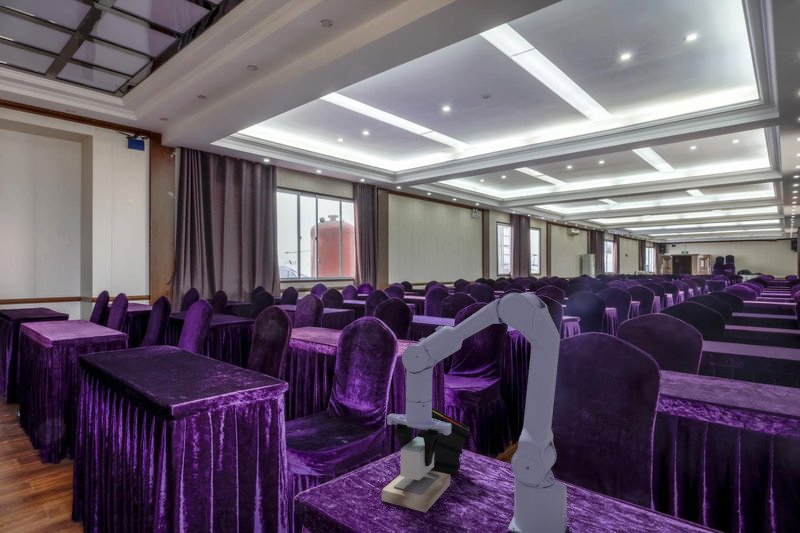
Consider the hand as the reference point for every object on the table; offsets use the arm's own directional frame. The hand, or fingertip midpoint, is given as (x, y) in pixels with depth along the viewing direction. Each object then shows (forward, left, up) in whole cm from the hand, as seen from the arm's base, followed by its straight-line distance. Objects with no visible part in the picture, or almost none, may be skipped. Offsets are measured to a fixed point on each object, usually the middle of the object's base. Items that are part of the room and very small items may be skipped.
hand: (417, 462), depth 98 cm
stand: (0, 0, -6) cm, 6 cm away
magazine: (-1, -13, -7) cm, 14 cm away
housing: (0, 0, -2) cm, 2 cm away
